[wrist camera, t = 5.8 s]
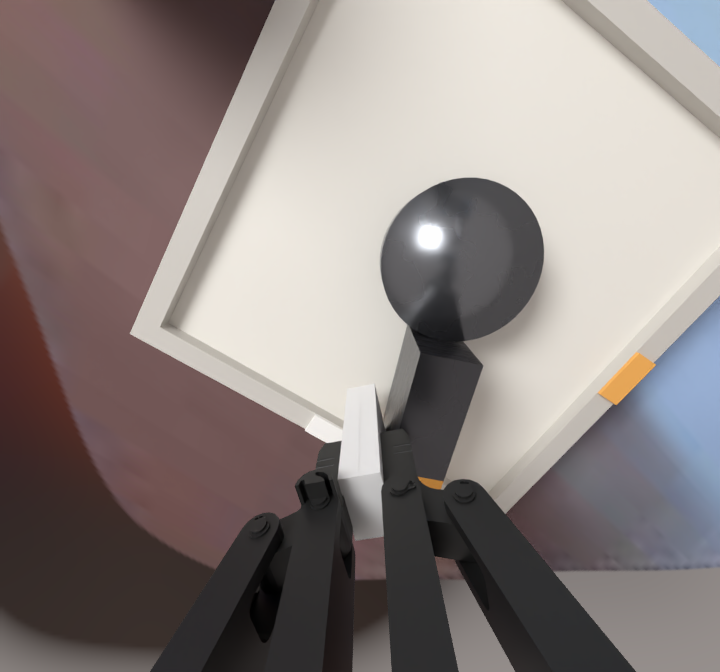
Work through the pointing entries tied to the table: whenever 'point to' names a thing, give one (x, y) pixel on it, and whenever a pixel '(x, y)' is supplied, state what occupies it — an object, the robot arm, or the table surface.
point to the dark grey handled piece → (452, 303)
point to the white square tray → (439, 164)
